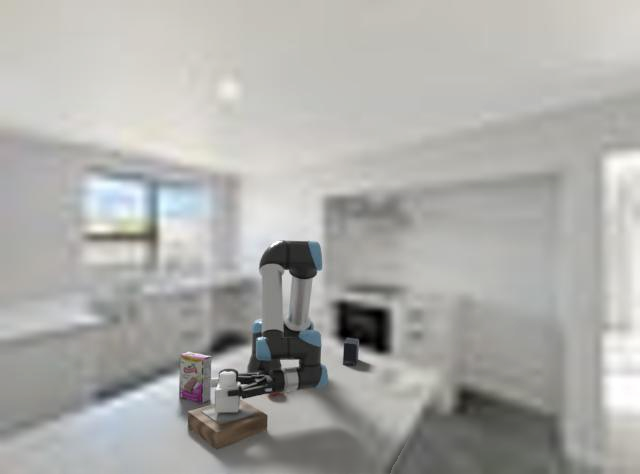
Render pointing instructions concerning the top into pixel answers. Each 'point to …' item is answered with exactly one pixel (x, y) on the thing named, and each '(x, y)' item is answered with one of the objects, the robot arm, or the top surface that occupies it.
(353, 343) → the small box
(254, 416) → the walnut base
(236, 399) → the medicine bottle
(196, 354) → the candy bar box
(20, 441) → the top surface
